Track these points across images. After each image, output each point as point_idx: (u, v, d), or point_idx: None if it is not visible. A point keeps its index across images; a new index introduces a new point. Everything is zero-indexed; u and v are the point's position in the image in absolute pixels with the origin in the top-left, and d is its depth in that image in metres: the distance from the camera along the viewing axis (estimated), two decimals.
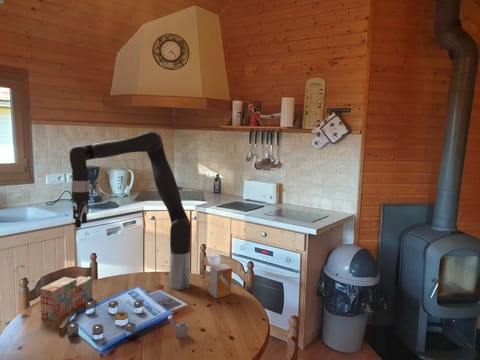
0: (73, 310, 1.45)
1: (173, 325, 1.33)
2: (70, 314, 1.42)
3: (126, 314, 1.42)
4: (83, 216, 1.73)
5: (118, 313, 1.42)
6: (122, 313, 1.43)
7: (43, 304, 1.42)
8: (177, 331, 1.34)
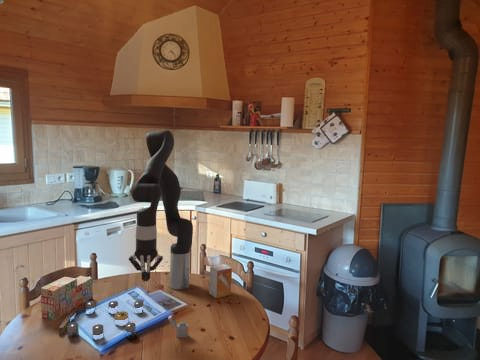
0: (73, 310, 1.45)
1: (173, 325, 1.33)
2: (70, 314, 1.42)
3: (126, 314, 1.42)
4: (145, 272, 1.40)
5: (118, 313, 1.42)
6: (122, 313, 1.43)
7: (44, 303, 1.43)
8: (177, 331, 1.33)
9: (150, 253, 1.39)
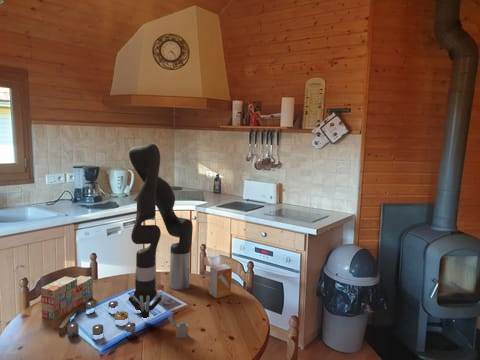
0: (73, 310, 1.45)
1: (173, 325, 1.33)
2: (70, 314, 1.42)
3: (126, 314, 1.42)
4: None
5: (118, 313, 1.42)
6: (122, 313, 1.43)
7: (44, 303, 1.43)
8: (177, 331, 1.33)
9: (149, 293, 1.41)
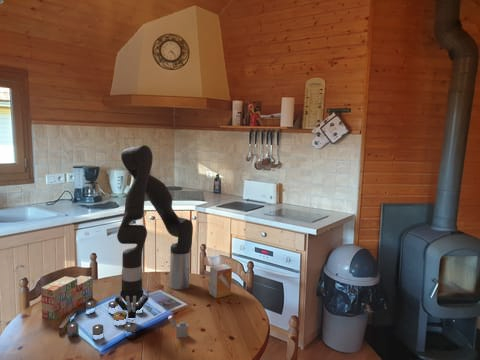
0: (73, 310, 1.45)
1: (173, 325, 1.33)
2: (70, 314, 1.42)
3: (125, 314, 1.42)
4: None
5: (117, 313, 1.42)
6: (121, 313, 1.42)
7: (44, 303, 1.43)
8: (177, 331, 1.34)
9: (136, 293, 1.40)
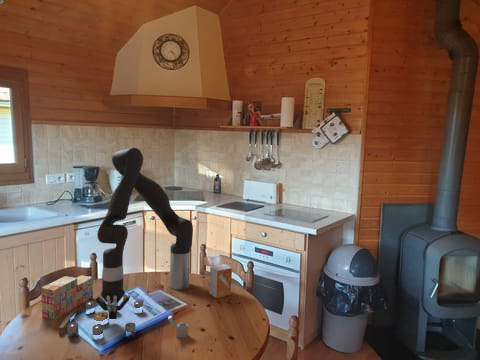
0: (73, 310, 1.45)
1: (173, 325, 1.33)
2: (70, 314, 1.42)
3: (106, 314, 1.41)
4: None
5: (98, 313, 1.42)
6: (102, 313, 1.42)
7: (44, 303, 1.43)
8: (177, 331, 1.33)
9: (117, 293, 1.39)
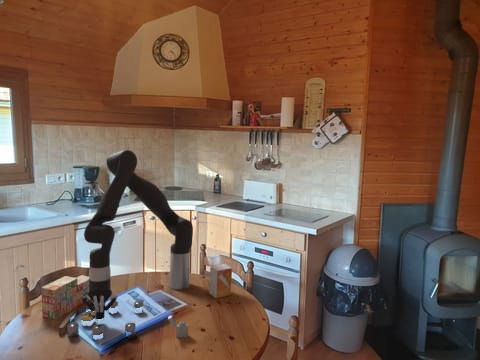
0: (73, 310, 1.45)
1: (173, 325, 1.33)
2: (70, 314, 1.42)
3: (93, 314, 1.41)
4: None
5: (85, 313, 1.41)
6: (89, 313, 1.41)
7: (44, 303, 1.43)
8: (177, 331, 1.34)
9: (104, 293, 1.39)
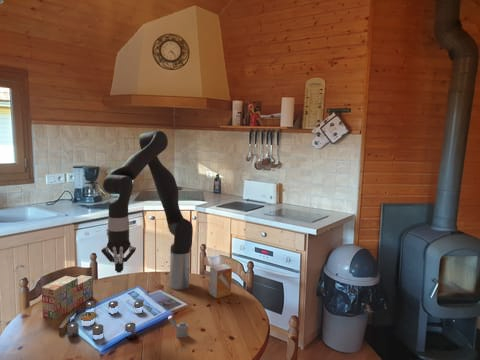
0: (73, 310, 1.45)
1: (173, 325, 1.33)
2: (70, 314, 1.42)
3: (93, 314, 1.41)
4: None
5: (85, 313, 1.41)
6: (89, 313, 1.41)
7: (45, 302, 1.43)
8: (177, 331, 1.34)
9: (123, 244, 1.39)
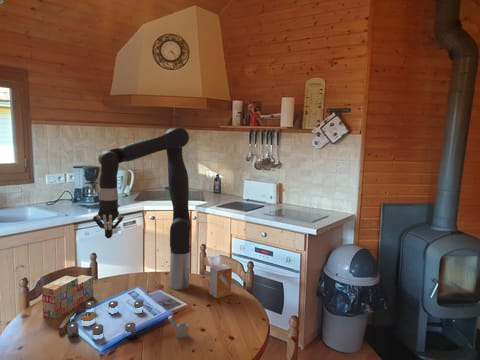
0: (73, 310, 1.45)
1: (173, 325, 1.33)
2: (70, 314, 1.42)
3: (93, 314, 1.41)
4: None
5: (85, 313, 1.41)
6: (89, 313, 1.41)
7: (45, 302, 1.44)
8: (177, 331, 1.33)
9: (112, 213, 1.57)
